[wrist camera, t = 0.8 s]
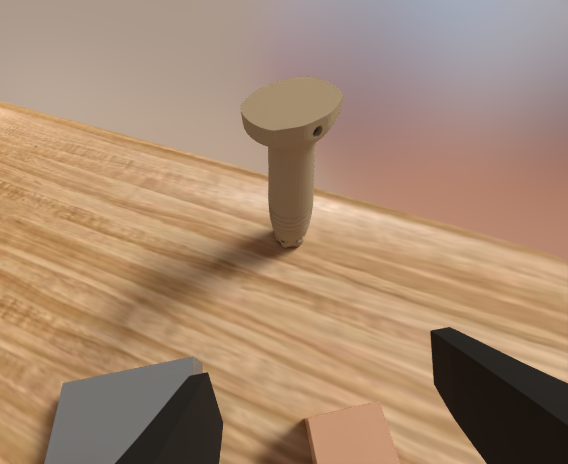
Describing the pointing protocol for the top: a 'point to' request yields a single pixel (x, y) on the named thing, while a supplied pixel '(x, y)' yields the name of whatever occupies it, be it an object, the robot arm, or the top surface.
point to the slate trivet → (112, 411)
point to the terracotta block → (351, 436)
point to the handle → (291, 146)
